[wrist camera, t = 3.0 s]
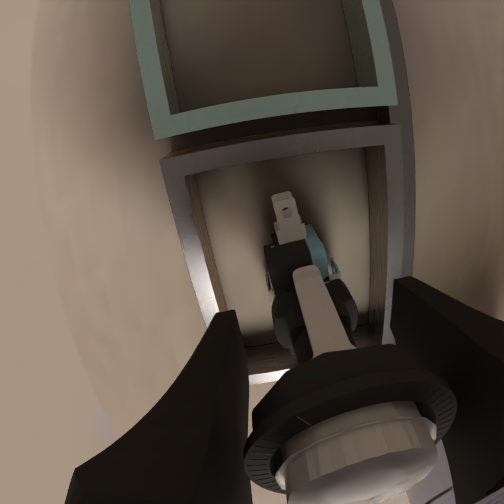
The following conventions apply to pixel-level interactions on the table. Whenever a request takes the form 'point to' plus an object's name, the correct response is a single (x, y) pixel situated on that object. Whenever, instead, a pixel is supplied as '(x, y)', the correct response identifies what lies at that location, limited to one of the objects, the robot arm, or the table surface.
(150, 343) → the table surface
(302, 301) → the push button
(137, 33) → the grey teal rectangular frame
